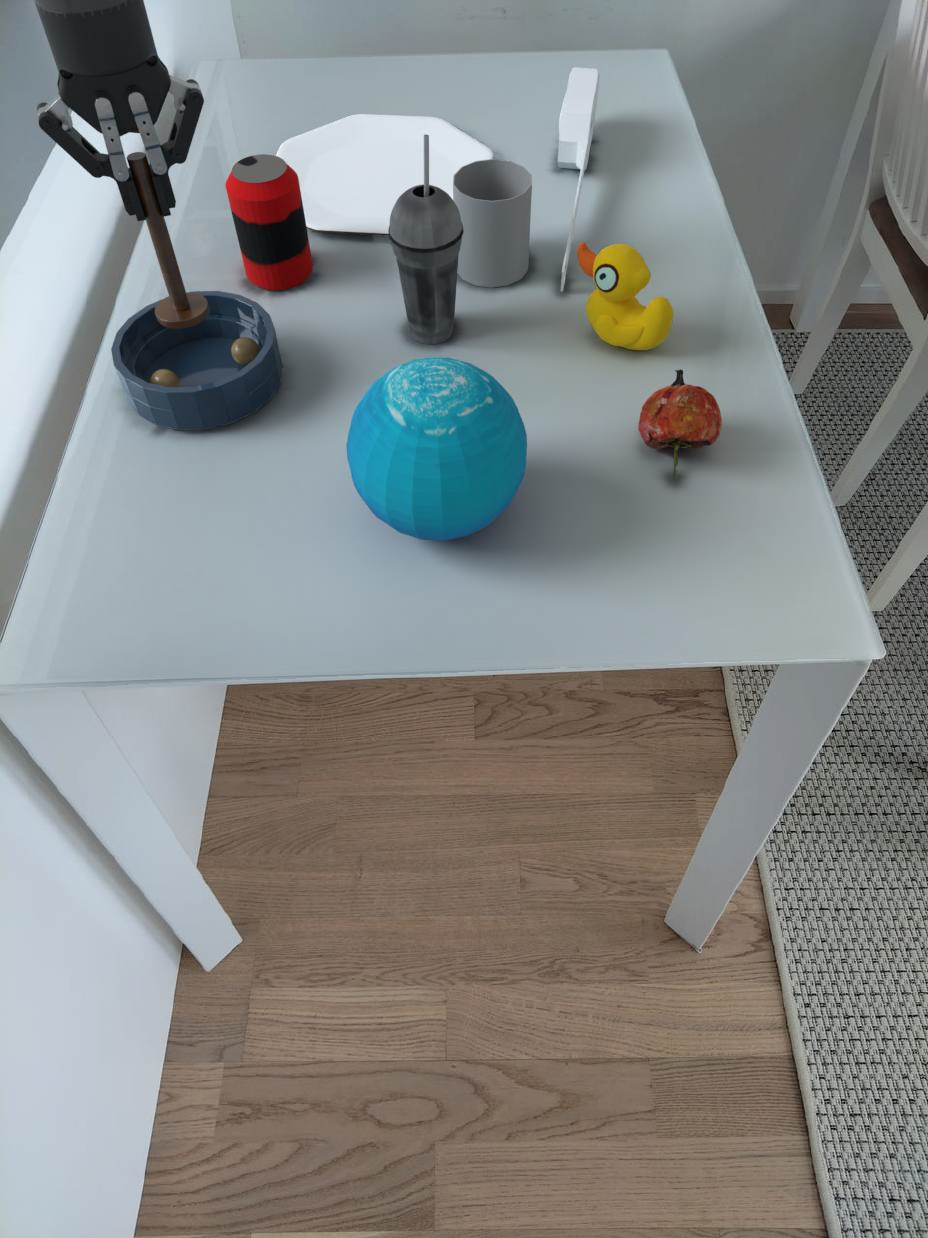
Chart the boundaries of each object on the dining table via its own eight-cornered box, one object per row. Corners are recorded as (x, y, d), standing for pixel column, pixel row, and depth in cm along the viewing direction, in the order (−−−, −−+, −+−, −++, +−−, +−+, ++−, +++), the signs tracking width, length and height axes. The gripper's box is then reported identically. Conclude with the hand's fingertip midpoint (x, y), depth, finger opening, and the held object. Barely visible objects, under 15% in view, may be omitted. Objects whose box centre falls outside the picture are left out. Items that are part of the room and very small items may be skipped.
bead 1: (150, 401, 91) (140, 374, 90) (173, 391, 93) (163, 364, 91) (167, 403, 89) (156, 375, 88) (189, 392, 91) (179, 365, 90)
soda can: (285, 245, 107) (266, 141, 98) (327, 271, 104) (311, 167, 95) (233, 272, 104) (207, 168, 95) (273, 300, 101) (251, 196, 91)
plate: (245, 236, 109) (242, 224, 107) (297, 121, 125) (295, 110, 123) (477, 248, 106) (477, 236, 105) (499, 130, 122) (500, 118, 121)
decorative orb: (356, 458, 87) (336, 323, 74) (515, 448, 87) (520, 312, 75) (357, 583, 78) (334, 453, 66) (533, 571, 78) (543, 440, 66)
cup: (439, 268, 104) (436, 182, 96) (485, 236, 108) (486, 151, 100) (497, 296, 101) (499, 210, 93) (543, 262, 105) (548, 176, 96)
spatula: (525, 308, 104) (561, 311, 103) (527, 245, 97) (565, 249, 96) (565, 115, 123) (595, 118, 122) (569, 52, 116) (601, 54, 115)
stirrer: (155, 331, 86) (102, 172, 75) (158, 302, 89) (108, 145, 78) (209, 325, 86) (164, 166, 75) (210, 296, 90) (168, 139, 78)
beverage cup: (386, 343, 97) (366, 154, 80) (414, 303, 100) (400, 115, 84) (450, 359, 95) (442, 169, 79) (476, 318, 99) (474, 129, 83)
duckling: (557, 330, 97) (563, 243, 89) (586, 305, 100) (595, 219, 92) (648, 373, 93) (664, 286, 85) (676, 346, 95) (694, 259, 87)
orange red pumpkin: (712, 489, 86) (729, 383, 86) (712, 477, 79) (730, 362, 79) (633, 480, 88) (649, 377, 88) (626, 468, 81) (643, 356, 81)
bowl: (138, 450, 88) (121, 408, 84) (120, 351, 96) (103, 309, 92) (298, 412, 90) (289, 370, 86) (266, 320, 99) (257, 277, 95)
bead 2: (232, 370, 93) (228, 343, 91) (233, 359, 95) (230, 332, 93) (260, 369, 93) (257, 343, 91) (261, 358, 95) (258, 332, 93)
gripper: (-12, 21, 63) (77, 252, 77) (188, -8, 65) (239, 221, 79) (-15, -20, 67) (70, 206, 81) (173, -46, 70) (224, 178, 84)
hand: (153, 212), depth 80 cm, fingers closed on stirrer
